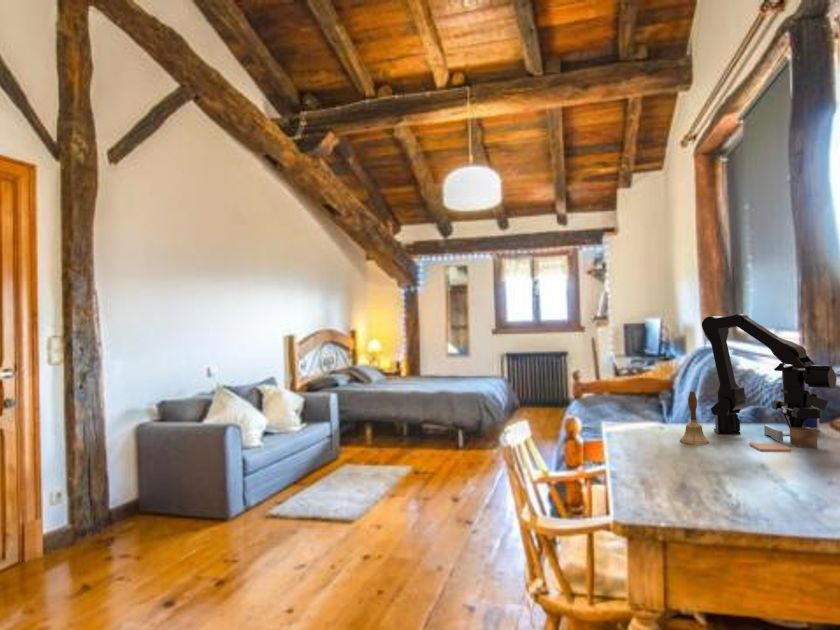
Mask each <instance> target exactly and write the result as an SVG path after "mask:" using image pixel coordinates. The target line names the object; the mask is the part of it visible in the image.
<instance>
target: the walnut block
mask: <svg viewBox="0 0 840 630" xmlns="http://www.w3.org/2000/svg"><path fill="white" fill-rule="evenodd" d="M789 433H790V436H789V438H790V439H789V440H790V441H789V442H790V444H791V445H793V446H794V447H797V448H818V434H817V433H818V431H817V430H814V429H812V428H809V427H790V428H789Z"/></svg>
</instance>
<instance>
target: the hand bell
mask: <svg viewBox="0 0 840 630" xmlns="http://www.w3.org/2000/svg"><path fill="white" fill-rule="evenodd" d="M687 402H688V408H689V410H690V422H689V423H687V424H686V425H685V431H684V433H683V436H682V437H681V438H680V439H679V442H680V441H681V443H683V444H686V443H688V444H687V445H695V444H704V445H706V444H705V443H708V442H709V443H710V440H709V439H707V437H706V436H705V434H704V432H703V431H704V430H703V426H702V424H700V423H699V422H697V421H698V419H697V408H698V398H697V396H696V393H695V391H693V390H692V391H689V394H688V397H687ZM709 443H708V444H709Z"/></svg>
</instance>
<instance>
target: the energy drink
mask: <svg viewBox="0 0 840 630" xmlns="http://www.w3.org/2000/svg"><path fill="white" fill-rule="evenodd" d="M817 397H818V395H817ZM818 398H819V397H818ZM811 407H814V406H811ZM814 408H815V407H814ZM817 409H818V408H817ZM818 410H819V411H820V409H818ZM802 427H809V428H812V429H814V430H817V432H818V431H820V418H808V419H806V420H805V421H804V423H803V426H802Z"/></svg>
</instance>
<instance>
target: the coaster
mask: <svg viewBox="0 0 840 630" xmlns="http://www.w3.org/2000/svg"><path fill="white" fill-rule="evenodd" d="M749 446H751V447H752V446H753V448H754V447H755V448H754V449H755V450H757V449H758V450H757V451H759V450H760V451H759V452H790V453H791V452H792V449H791V448H789V447H787V446H786V445H784V444H781V443H780V442H779V443H778V442H749Z"/></svg>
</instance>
